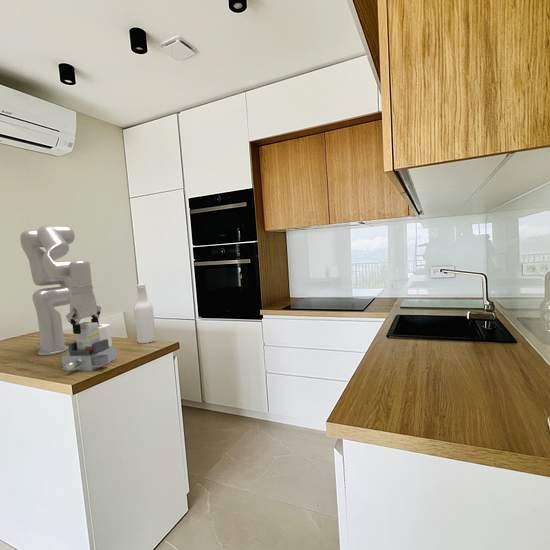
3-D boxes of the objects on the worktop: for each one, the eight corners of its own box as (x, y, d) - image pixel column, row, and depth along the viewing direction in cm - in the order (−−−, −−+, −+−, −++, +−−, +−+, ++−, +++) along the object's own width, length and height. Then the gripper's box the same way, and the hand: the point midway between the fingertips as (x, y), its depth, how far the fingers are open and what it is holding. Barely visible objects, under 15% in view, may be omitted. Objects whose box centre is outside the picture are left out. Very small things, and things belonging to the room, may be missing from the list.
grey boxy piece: (53, 374, 129) (50, 349, 128) (90, 358, 147) (87, 336, 146) (91, 375, 125) (88, 350, 124) (123, 359, 143) (121, 336, 142)
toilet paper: (115, 349, 158) (112, 325, 157) (91, 355, 151) (88, 329, 150) (109, 345, 166) (106, 322, 165) (86, 351, 159) (83, 326, 158)
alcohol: (144, 344, 163) (138, 285, 161) (134, 342, 168) (128, 285, 166) (159, 339, 171) (153, 283, 168) (148, 338, 176) (143, 283, 173)
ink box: (101, 349, 139) (98, 322, 138) (91, 353, 134) (88, 324, 133) (87, 348, 142) (84, 321, 141) (77, 351, 138) (73, 324, 137)
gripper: (90, 287, 145) (94, 325, 147) (56, 293, 128) (61, 336, 130) (105, 287, 143) (109, 325, 145) (72, 293, 127) (77, 336, 128)
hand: (86, 330), depth 137 cm, fingers open, 9 cm apart
